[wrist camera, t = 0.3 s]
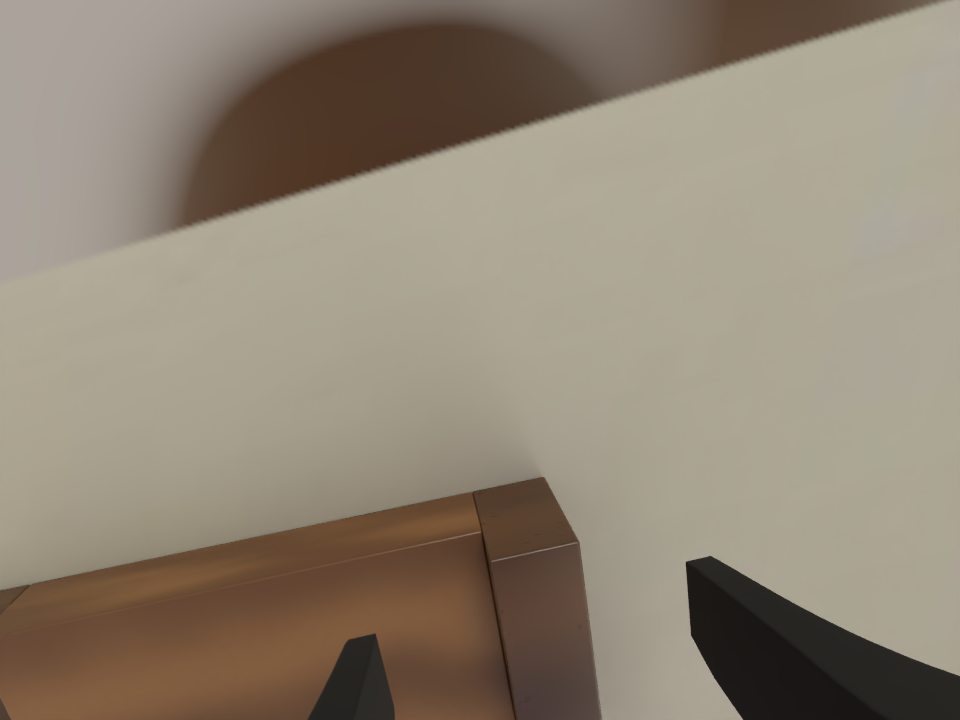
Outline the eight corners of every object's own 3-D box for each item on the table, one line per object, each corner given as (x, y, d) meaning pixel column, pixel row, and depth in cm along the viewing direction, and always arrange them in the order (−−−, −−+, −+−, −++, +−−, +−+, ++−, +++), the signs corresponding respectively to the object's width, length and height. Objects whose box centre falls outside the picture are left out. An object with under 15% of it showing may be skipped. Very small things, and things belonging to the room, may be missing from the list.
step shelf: (578, 715, 26) (615, 823, 21) (65, 842, 24) (-17, 992, 19) (544, 476, 23) (579, 541, 18) (-53, 600, 21) (-186, 710, 16)
